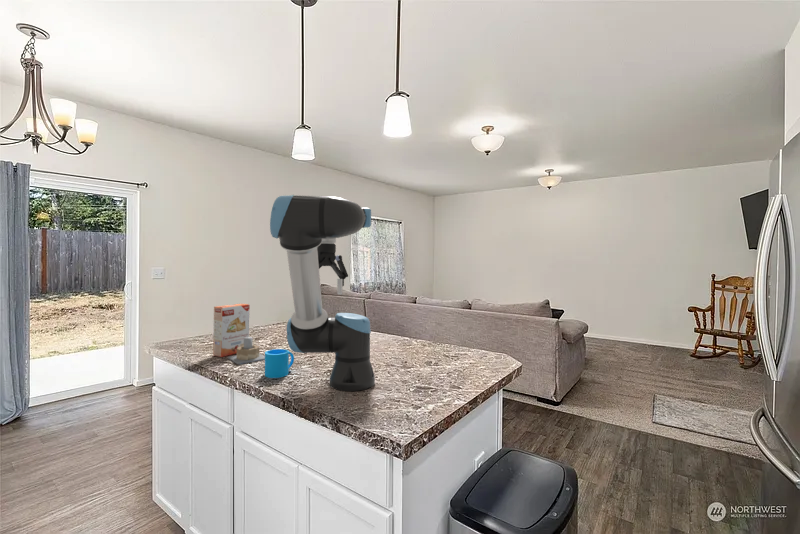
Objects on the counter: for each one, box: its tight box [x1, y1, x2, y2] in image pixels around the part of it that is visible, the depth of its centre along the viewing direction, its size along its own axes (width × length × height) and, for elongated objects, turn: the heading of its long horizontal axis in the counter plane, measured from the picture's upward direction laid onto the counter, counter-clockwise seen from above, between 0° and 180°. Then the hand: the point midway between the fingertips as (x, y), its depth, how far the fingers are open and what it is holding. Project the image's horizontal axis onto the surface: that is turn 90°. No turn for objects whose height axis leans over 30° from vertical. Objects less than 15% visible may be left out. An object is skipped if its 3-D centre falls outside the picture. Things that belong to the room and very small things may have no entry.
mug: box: [264, 348, 295, 379], centre depth 135 cm, size 12×8×8 cm
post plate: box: [227, 336, 265, 366], centre depth 153 cm, size 12×12×9 cm
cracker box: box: [212, 303, 250, 358], centre depth 160 cm, size 14×6×21 cm, turn 153°
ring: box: [236, 344, 260, 360], centre depth 153 cm, size 8×8×4 cm
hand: (325, 295), depth 152 cm, fingers open, 13 cm apart
